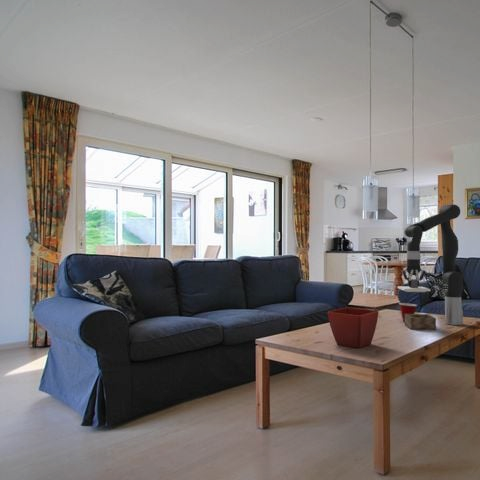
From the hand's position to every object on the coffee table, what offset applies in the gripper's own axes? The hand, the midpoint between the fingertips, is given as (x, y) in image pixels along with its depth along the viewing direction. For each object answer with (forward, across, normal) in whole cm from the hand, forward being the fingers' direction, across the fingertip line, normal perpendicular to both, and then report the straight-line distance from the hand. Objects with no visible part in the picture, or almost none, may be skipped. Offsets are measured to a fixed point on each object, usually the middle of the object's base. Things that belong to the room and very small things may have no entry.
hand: (413, 286), depth 253 cm
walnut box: (+25, -4, 0) cm, 25 cm away
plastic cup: (+25, -2, -18) cm, 31 cm away
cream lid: (+2, 0, 0) cm, 2 cm away
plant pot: (+26, +42, +47) cm, 68 cm away
